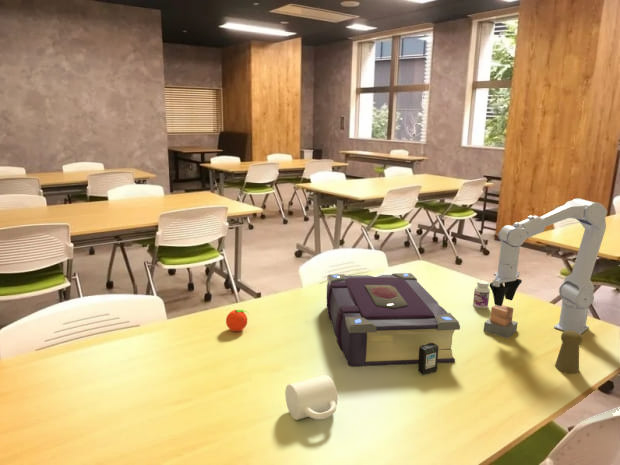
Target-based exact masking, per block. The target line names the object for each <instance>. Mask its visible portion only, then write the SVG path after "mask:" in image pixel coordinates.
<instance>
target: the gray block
mask: <svg viewBox="0 0 620 465" xmlns="http://www.w3.org/2000/svg"><path fill="white" fill-rule="evenodd" d="M518 324H519V322H517V321H515V320H512V322H511V323H509V324H507V325H505V326H503V325H500V324H497V323H494V322H491V321H490V318H488V319H487V320H485V321H484V325H483V332H484V333H485V332H486V333H488V334H492V335H495V336H498V337H502V338H504V339H509V338H510V337H512V336H513V335H514V334H515V333H516V332H517V330H518Z"/></svg>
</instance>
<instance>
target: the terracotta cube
mask: <svg viewBox="0 0 620 465" xmlns="http://www.w3.org/2000/svg"><path fill="white" fill-rule="evenodd" d="M513 315H514V307H511V306H508V305H505V304H502V306H498V305H495V304H494V305H492V306H491V310H490V317H489V319H490V321H491V322H494V323H497V324H500V325H503V326H505V325H507V324H509V323H511V322H512V321H513Z"/></svg>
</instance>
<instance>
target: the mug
mask: <svg viewBox="0 0 620 465" xmlns="http://www.w3.org/2000/svg"><path fill="white" fill-rule="evenodd" d="M284 392H285V394H284V395H285V403H286V407H287V409H288V412H289V414H290V416H291V417H292V419H294V420H298V421H299V420H301V419H304V418H311V419H314V420H323V419H327V418H329V417H331V416H332V415H334V413H335V412H336V411H337V405H338V392H337V388H336V385H335V383H334V381H333V379H332V378H331V377H330V376H329V375H327V374H324V375H319V376H317V377H316V376H315V377H312V378H309V379H308V378H307V379H304V380H300V381H297V382H294V383H289V384H287V385H286V387H285V390H284Z"/></svg>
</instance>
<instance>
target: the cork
mask: <svg viewBox="0 0 620 465" xmlns="http://www.w3.org/2000/svg"><path fill="white" fill-rule="evenodd" d="M560 339H561V345H560V349H559V352H558V353H557V354H558V355H557V358H556V361H555V364H554V366H555V369H557V370H558V371H560V372H562V373H566V374H569V375H572V374H573V375H574V374H575V375H577V374H579V372H580V346H581V345H582V343H583V336H582V334H579V333H577V332H575V331H563V332H562V333H561V335H560Z"/></svg>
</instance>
